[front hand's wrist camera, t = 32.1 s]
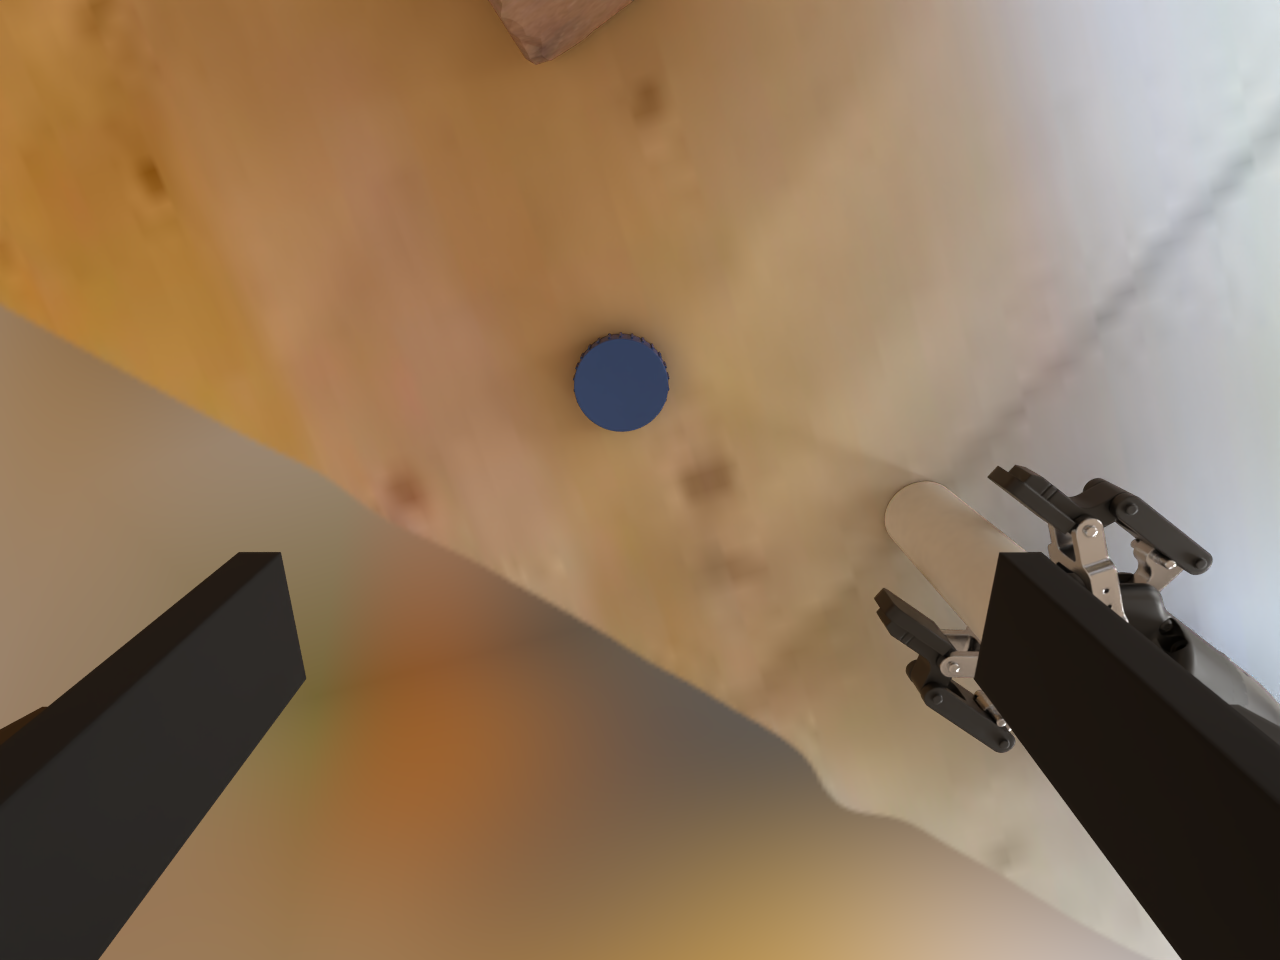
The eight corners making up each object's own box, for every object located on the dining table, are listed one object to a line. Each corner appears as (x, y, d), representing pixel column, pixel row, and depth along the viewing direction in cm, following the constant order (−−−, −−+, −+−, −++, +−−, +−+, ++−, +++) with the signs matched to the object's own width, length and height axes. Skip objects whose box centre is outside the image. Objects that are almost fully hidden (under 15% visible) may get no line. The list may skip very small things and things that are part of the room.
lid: (579, 327, 35) (576, 331, 33) (673, 337, 35) (675, 342, 33) (571, 418, 36) (568, 427, 35) (662, 428, 37) (663, 437, 35)
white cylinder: (965, 530, 39) (1226, 758, 22) (897, 558, 40) (1100, 803, 22) (944, 469, 38) (1203, 661, 21) (874, 499, 38) (1070, 710, 21)
